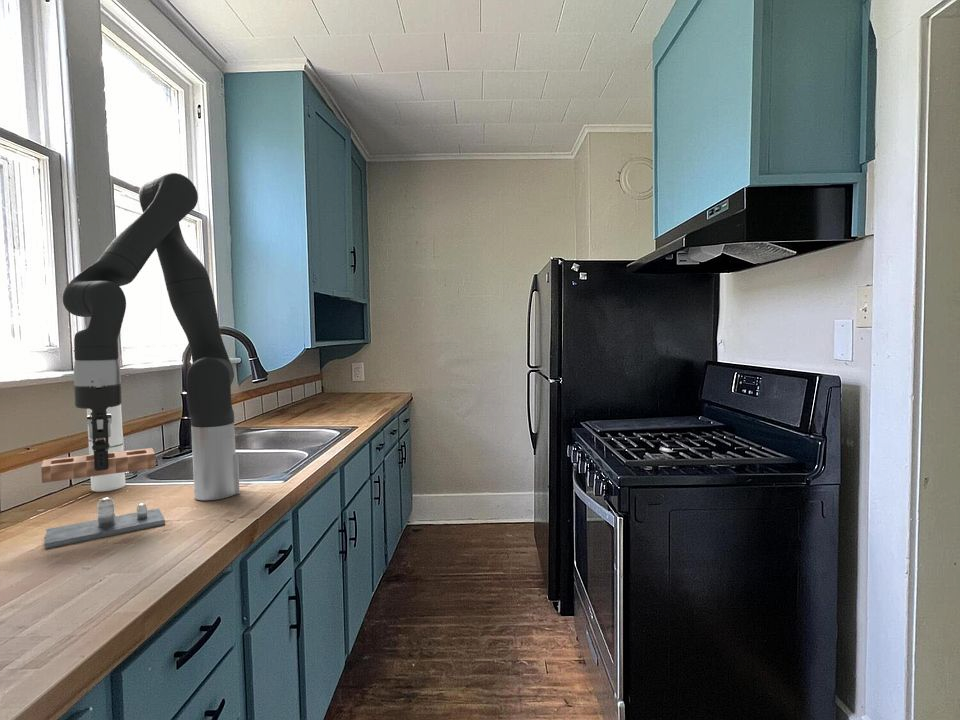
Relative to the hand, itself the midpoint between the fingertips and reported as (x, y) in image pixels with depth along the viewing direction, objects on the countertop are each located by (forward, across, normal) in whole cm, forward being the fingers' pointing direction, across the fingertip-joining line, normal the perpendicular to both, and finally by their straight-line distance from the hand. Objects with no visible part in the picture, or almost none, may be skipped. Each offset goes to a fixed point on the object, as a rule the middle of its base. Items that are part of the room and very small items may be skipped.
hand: (101, 465), depth 106 cm
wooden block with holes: (+1, 0, 0) cm, 1 cm away
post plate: (+13, +1, 0) cm, 13 cm away
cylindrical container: (+13, -34, +2) cm, 37 cm away
